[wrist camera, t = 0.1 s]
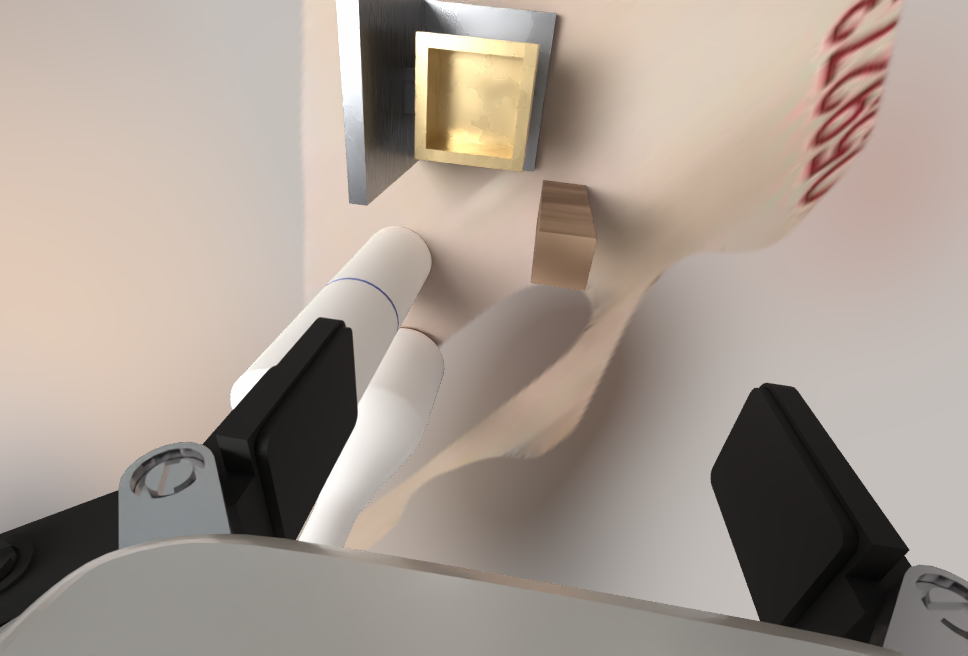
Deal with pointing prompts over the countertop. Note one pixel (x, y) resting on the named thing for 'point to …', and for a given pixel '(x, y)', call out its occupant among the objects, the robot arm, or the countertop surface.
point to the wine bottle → (379, 435)
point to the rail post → (563, 237)
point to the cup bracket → (439, 87)
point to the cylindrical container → (358, 305)
